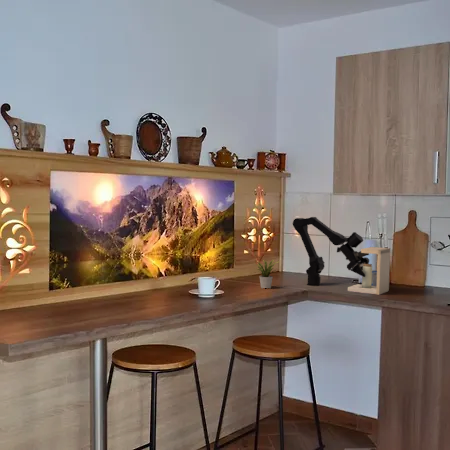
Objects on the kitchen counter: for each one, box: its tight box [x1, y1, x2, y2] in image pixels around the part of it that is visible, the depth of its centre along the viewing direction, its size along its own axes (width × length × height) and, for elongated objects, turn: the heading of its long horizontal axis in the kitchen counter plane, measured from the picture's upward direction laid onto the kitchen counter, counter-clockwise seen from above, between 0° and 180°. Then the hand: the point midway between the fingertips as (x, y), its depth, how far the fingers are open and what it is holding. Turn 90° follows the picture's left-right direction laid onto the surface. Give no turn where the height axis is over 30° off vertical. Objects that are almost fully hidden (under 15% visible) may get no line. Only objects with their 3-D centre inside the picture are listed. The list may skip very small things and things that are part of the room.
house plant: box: [256, 258, 278, 289], centre depth 353 cm, size 14×14×16 cm
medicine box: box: [372, 269, 377, 286], centre depth 373 cm, size 8×4×9 cm, turn 37°
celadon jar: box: [361, 263, 373, 289], centre depth 351 cm, size 5×5×14 cm
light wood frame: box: [347, 246, 391, 296], centre depth 350 cm, size 18×16×23 cm
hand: (368, 275), depth 351 cm, fingers open, 9 cm apart
